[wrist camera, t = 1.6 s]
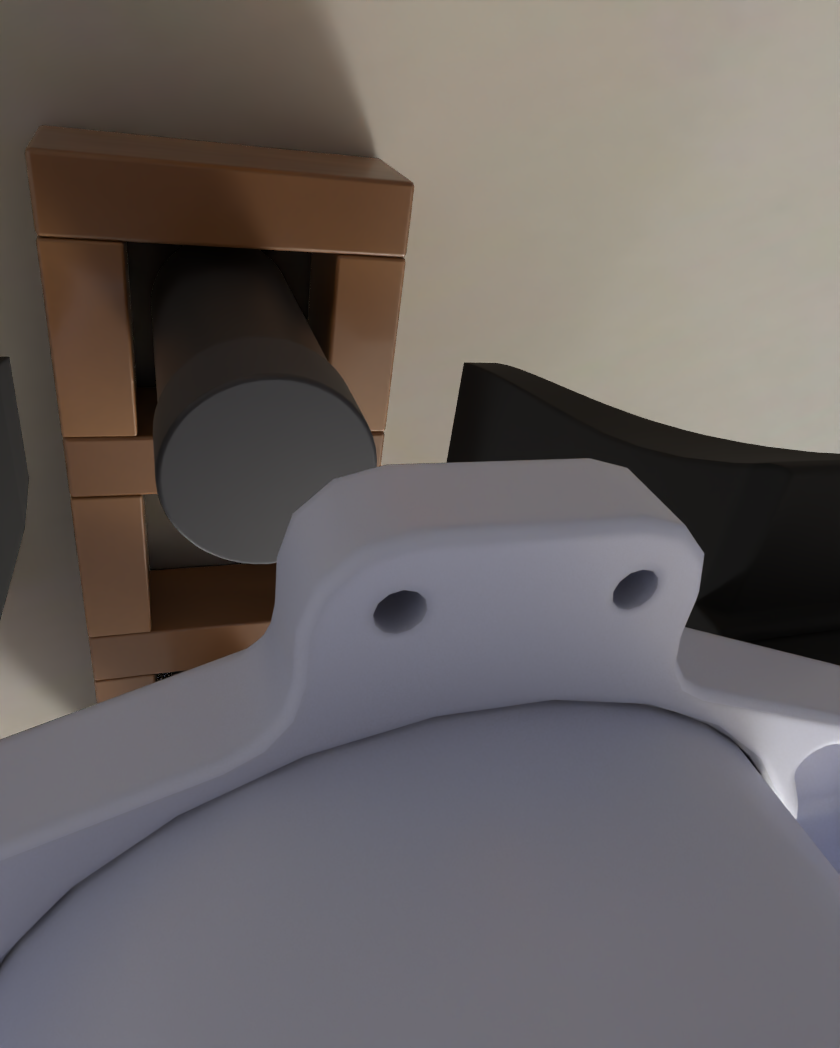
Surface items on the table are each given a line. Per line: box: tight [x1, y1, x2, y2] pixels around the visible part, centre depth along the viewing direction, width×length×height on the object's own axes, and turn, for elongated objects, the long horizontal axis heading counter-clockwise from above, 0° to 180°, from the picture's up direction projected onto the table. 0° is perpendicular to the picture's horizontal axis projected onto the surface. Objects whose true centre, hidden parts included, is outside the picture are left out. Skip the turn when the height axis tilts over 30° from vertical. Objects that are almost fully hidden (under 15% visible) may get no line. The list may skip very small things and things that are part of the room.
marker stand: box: [25, 125, 414, 704], centre depth 19 cm, size 17×7×2 cm, turn 172°
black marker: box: [151, 245, 377, 564], centre depth 14 cm, size 3×3×8 cm
